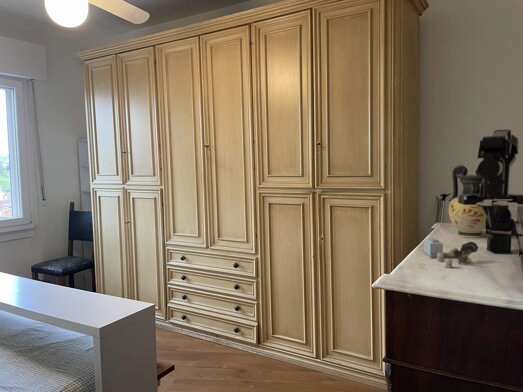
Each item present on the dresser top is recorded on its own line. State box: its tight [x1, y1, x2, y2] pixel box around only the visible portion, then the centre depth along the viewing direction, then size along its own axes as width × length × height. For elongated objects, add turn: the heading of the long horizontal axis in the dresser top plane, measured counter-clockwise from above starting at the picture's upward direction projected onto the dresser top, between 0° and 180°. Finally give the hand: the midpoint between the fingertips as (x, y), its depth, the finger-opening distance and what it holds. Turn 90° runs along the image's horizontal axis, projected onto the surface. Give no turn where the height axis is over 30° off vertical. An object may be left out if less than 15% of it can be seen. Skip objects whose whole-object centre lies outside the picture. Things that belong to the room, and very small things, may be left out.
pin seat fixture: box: [430, 252, 457, 269], centre depth 134 cm, size 10×19×2 cm, turn 173°
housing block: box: [424, 237, 444, 257], centre depth 142 cm, size 4×7×5 cm, turn 173°
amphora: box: [448, 164, 494, 239], centre depth 172 cm, size 18×17×30 cm
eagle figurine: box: [449, 241, 479, 265], centre depth 132 cm, size 8×7×9 cm
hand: (492, 227), depth 127 cm, fingers closed
